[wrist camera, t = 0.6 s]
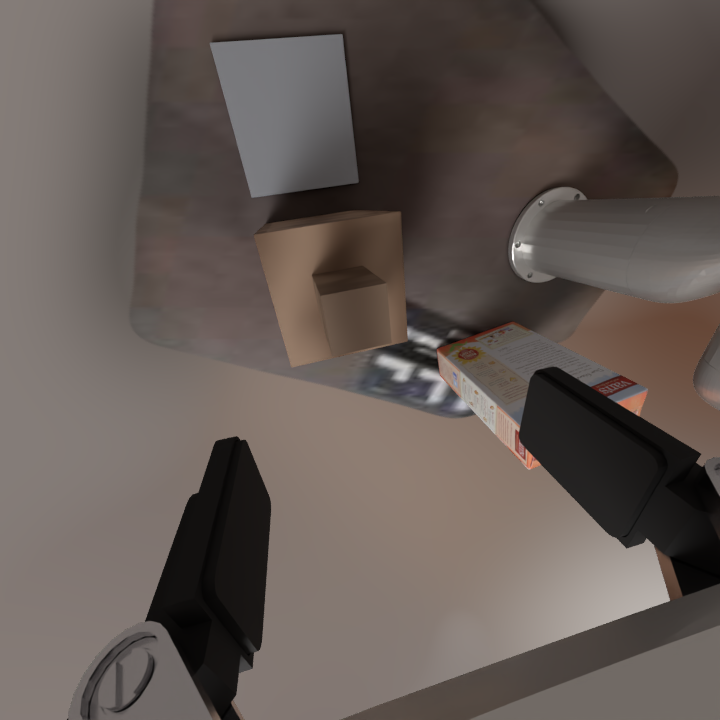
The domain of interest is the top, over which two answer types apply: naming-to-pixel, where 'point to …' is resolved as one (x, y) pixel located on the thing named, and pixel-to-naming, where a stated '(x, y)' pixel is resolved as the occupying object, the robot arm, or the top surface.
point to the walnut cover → (336, 282)
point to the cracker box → (520, 378)
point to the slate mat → (289, 111)
